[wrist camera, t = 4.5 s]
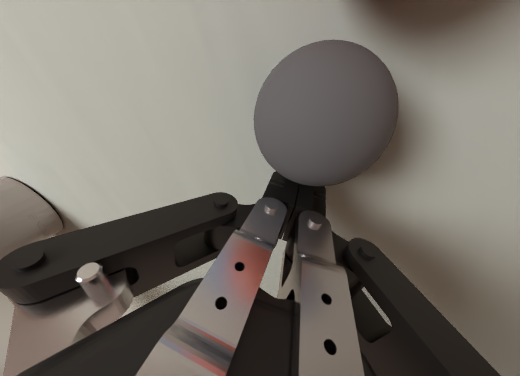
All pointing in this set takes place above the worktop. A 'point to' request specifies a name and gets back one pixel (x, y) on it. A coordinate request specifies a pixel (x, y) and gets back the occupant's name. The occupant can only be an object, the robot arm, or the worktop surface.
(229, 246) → the robot arm
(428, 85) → the worktop surface
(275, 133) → the grey smooth round ball
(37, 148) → the worktop surface
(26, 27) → the worktop surface
